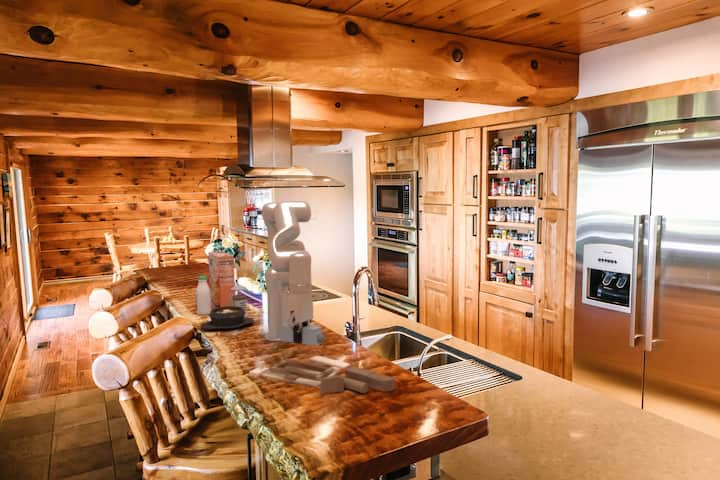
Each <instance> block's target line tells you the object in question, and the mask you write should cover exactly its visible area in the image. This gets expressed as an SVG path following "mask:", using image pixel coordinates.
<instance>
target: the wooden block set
mask: <svg viewBox="0 0 720 480" xmlns="http://www.w3.org/2000/svg"><path fill="white" fill-rule="evenodd" d="M344 374H345V376H342V375H338V374H336V375H335V376H333V375H332V376H329V377H327V378H325V379H323V380H321V385H320V394H321V395H325V394H337V393H338V394H339V393H345V392H344V391H345V390H344V389H347V390H351V391H355V392H358V393H361V394H366V393H367V392H368V391H369V389H371V390H373V391H374V390H375V391H378V392H381V393H385V392H386V393H387V392H392V391H394V390H395V385H396V383H395V382H396V381H395V377H393V376H389V375H387V374H386V375H385V374H382V373H378V372H375V371H374V370H369V369H366V368H362V367H359V366H355V365H353V366H349V368H348V367H347V368H345V373H344Z"/></svg>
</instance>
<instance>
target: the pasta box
mask: <svg viewBox="0 0 720 480" xmlns="http://www.w3.org/2000/svg"><path fill="white" fill-rule="evenodd" d="M208 278H209V288H210V292H211V307H212V308H213V309H215V308H218V307H225V306H230V305H231V299H233V298H232V294H231V293H233V295H236V293H235V292H236V291H232V290H231V288H232V287H234V286H236V285H235V258H234V255H232V254H230V253H227V252H225V251H212V252H211V251H210V252H208ZM230 294H231V295H230ZM229 296H230V298H229ZM229 301H230V304H229ZM233 302H235V301H233ZM234 305H235V304H234Z"/></svg>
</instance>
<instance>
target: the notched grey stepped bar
mask: <svg viewBox="0 0 720 480" xmlns="http://www.w3.org/2000/svg"><path fill="white" fill-rule="evenodd" d="M296 326H297V327H298V325H297V324H296ZM302 328H303V327H302ZM300 332H302V343H301V344H303V345H308V346H319V345H321V344H323V343H325V341H326V336H325V335H324V334H323V330H322V326H318V325H317V326H316V325H312V324H310V325H308V326H306V327H304V328H303V329H301V331H300ZM279 342H287V343H294V342H293V331H292V329H291V328H290V327H289V326H288V323H285V324H283V325H281V329H280V341H279ZM301 344H300V345H301Z"/></svg>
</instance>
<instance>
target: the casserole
mask: <svg viewBox="0 0 720 480" xmlns="http://www.w3.org/2000/svg"><path fill="white" fill-rule="evenodd" d="M245 313H246V312H245V311H244V309H243V308H242V307H237V306H225V307H218V308H213V309H212V308H211V312H210V314H208V317H209V318H210V321H206V322H202V323H200V328H202V329H205V330H221V331H222V330H226V331H227V330H234V329H237V328H240V327H242V326H245V325H250V324H252V323H254V322H255V320H254V319H253V318H252V317H249V316H244V315H245Z"/></svg>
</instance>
